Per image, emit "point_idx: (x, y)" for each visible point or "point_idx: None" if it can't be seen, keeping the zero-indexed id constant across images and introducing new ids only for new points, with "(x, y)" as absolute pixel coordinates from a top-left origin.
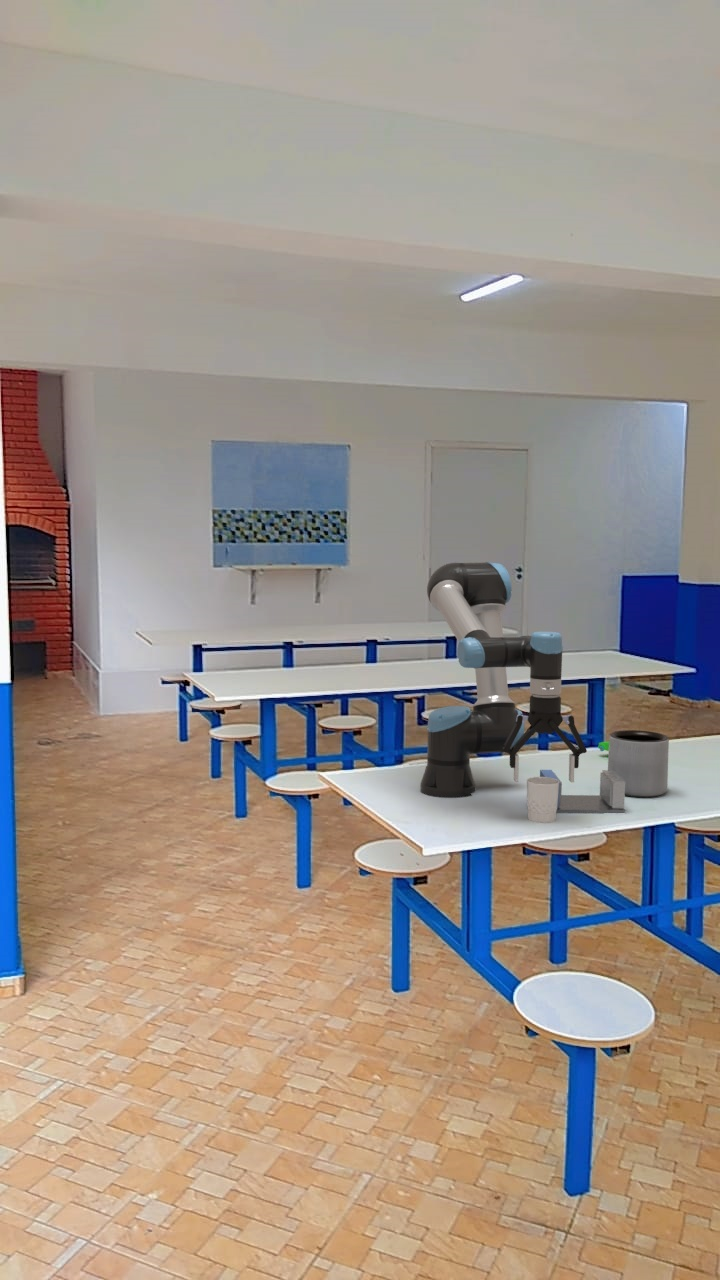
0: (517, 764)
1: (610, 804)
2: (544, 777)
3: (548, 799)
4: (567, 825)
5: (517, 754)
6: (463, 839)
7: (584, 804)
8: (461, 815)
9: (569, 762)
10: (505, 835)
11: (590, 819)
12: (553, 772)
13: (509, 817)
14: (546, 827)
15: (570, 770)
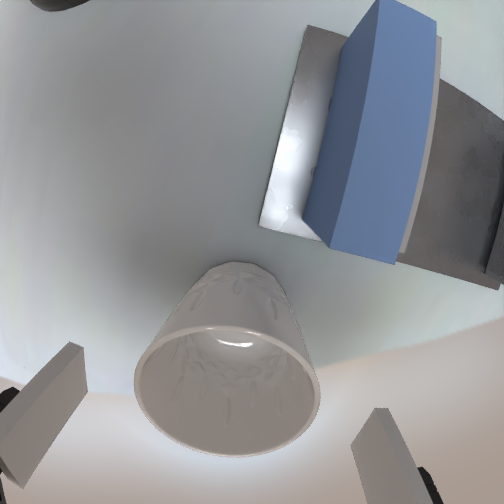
0: (40, 450)
1: (490, 270)
2: (270, 342)
3: (232, 407)
4: None
5: (6, 466)
6: (31, 378)
7: (448, 205)
8: (23, 206)
9: (402, 486)
10: (102, 392)
11: (394, 323)
12: (438, 42)
13: (137, 253)
14: None
15: (372, 476)
